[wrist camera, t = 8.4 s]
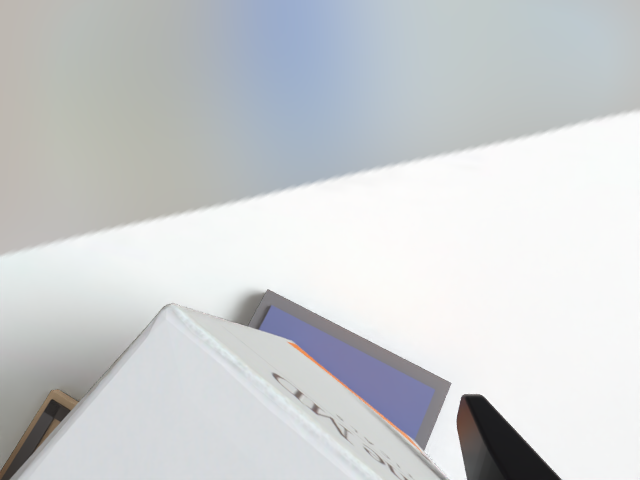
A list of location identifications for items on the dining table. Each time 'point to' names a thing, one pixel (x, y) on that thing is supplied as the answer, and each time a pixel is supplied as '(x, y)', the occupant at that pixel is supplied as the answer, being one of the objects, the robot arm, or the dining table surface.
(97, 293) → the dining table surface
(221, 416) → the skincare box
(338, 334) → the ink pad
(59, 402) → the marked board
